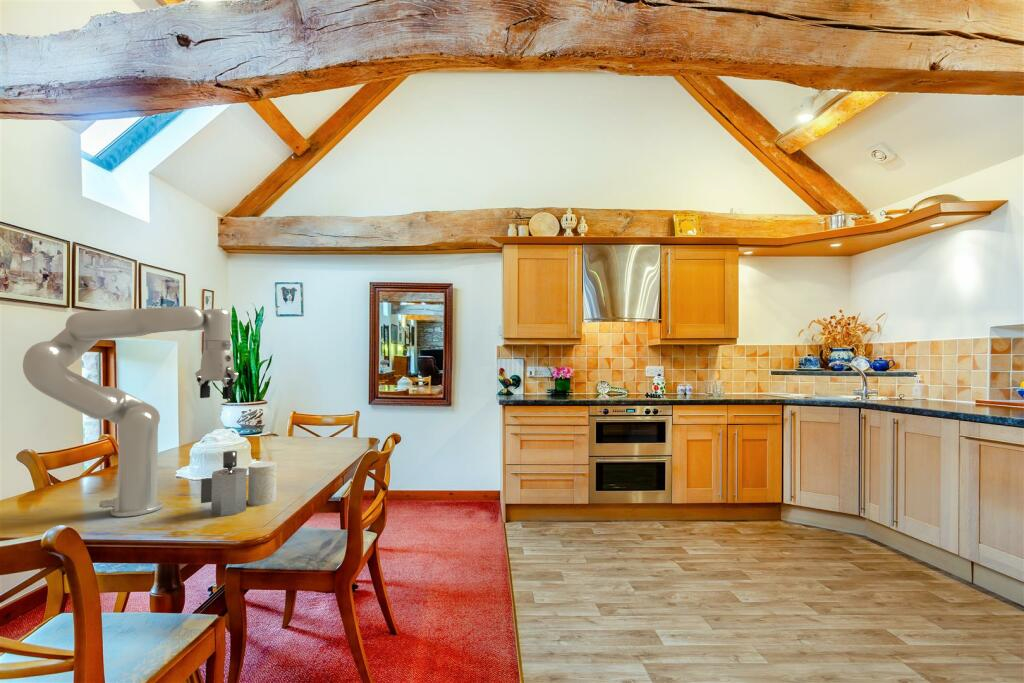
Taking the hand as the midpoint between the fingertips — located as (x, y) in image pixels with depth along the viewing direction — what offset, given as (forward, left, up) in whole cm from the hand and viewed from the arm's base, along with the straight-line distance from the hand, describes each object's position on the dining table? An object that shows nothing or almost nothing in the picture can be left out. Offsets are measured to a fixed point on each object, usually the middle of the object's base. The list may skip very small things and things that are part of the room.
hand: (216, 398), depth 160 cm
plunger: (+5, -15, -32) cm, 36 cm away
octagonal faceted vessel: (+4, -15, -33) cm, 37 cm away
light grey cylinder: (+14, -9, -34) cm, 37 cm away
